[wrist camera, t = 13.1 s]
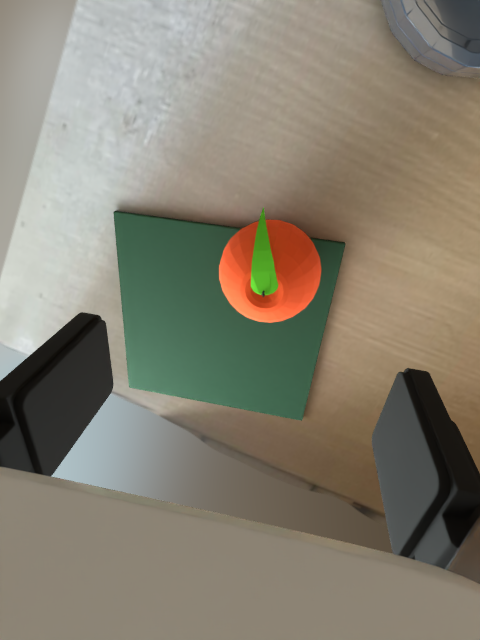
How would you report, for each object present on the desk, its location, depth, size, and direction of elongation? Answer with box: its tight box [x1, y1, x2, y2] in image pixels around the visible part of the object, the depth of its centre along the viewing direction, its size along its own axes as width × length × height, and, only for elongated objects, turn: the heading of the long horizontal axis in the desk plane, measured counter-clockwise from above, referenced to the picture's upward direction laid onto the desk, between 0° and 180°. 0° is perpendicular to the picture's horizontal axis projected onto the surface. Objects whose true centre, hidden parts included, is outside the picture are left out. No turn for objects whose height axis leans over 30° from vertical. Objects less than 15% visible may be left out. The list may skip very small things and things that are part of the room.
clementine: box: [219, 207, 321, 323], centre depth 24 cm, size 8×7×7 cm
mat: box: [114, 211, 345, 421], centre depth 31 cm, size 18×18×1 cm
